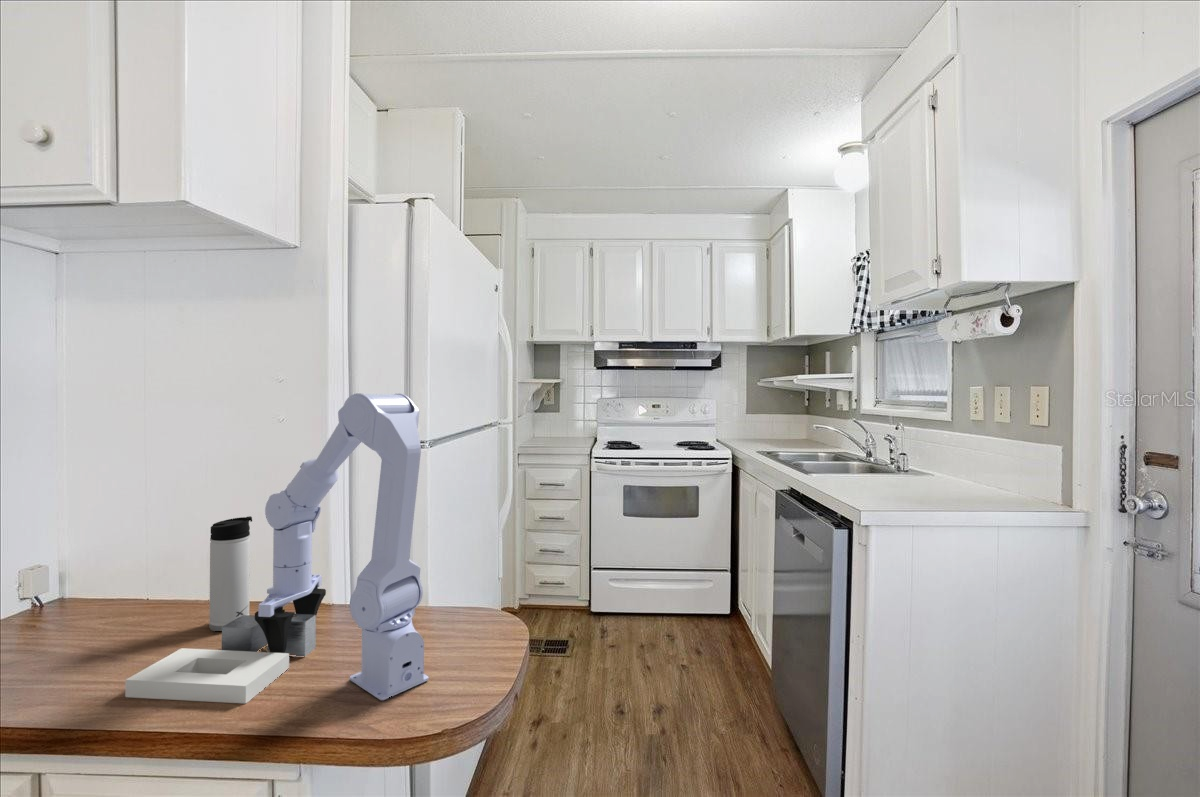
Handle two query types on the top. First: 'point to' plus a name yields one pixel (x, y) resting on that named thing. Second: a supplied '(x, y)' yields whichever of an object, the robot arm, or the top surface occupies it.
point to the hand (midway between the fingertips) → (291, 642)
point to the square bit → (243, 635)
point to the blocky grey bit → (301, 635)
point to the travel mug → (229, 571)
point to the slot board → (208, 675)
